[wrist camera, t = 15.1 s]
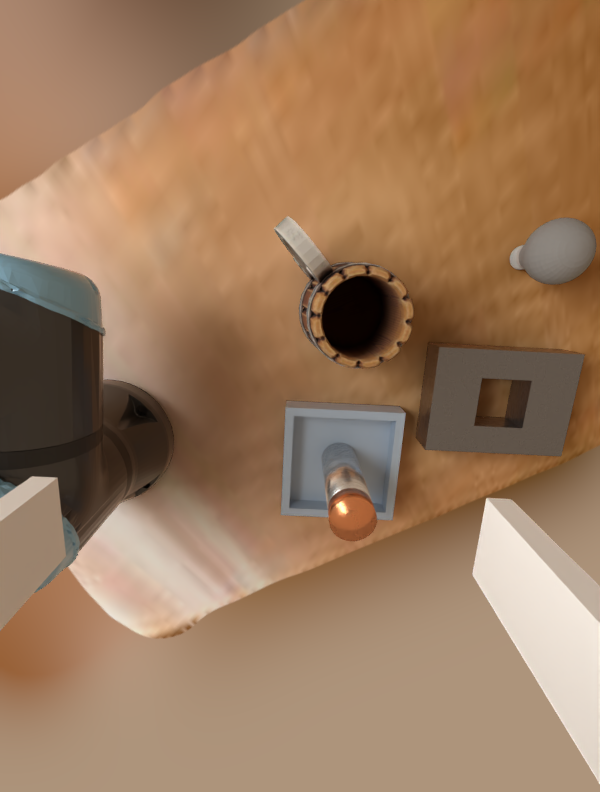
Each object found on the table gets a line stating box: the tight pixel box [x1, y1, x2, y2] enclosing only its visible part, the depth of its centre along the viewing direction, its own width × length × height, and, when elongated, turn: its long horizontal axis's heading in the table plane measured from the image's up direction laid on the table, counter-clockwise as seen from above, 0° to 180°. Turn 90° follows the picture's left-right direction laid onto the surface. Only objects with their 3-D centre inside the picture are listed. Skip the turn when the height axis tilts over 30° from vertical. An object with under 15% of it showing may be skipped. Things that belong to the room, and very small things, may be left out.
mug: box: [274, 216, 414, 369], centre depth 39 cm, size 16×11×15 cm
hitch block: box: [416, 343, 585, 456], centre depth 47 cm, size 16×12×4 cm
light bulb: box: [510, 218, 596, 284], centre depth 40 cm, size 6×6×10 cm
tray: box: [281, 401, 406, 520], centre depth 50 cm, size 14×14×3 cm
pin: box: [322, 443, 377, 541], centre depth 44 cm, size 4×4×14 cm
